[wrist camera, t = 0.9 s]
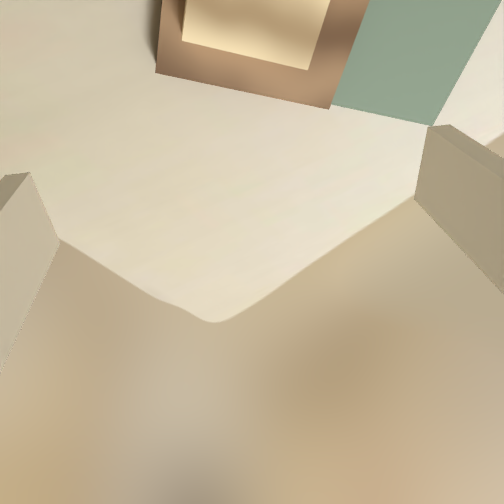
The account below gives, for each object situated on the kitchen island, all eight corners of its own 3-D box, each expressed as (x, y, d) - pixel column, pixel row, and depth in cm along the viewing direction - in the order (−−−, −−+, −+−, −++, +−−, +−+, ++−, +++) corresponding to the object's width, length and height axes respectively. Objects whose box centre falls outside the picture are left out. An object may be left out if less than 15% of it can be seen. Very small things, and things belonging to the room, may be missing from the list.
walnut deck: (176, -148, 24) (176, -152, 22) (384, -74, 27) (396, -72, 26) (156, 64, 31) (155, 72, 29) (322, 100, 35) (328, 109, 33)
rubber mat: (390, -71, 27) (394, -71, 27) (512, -28, 30) (516, -27, 30) (327, 101, 35) (329, 103, 34) (429, 123, 38) (432, 126, 37)
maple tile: (195, -75, 24) (196, -73, 23) (330, -32, 27) (339, -28, 25) (181, 33, 28) (181, 40, 26) (301, 62, 30) (307, 70, 29)
